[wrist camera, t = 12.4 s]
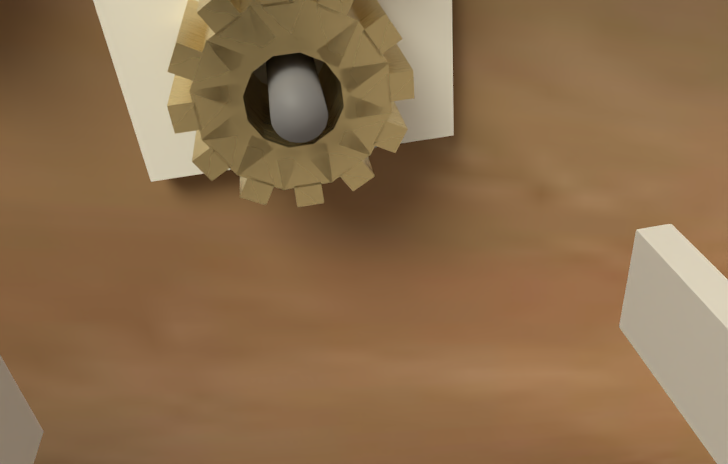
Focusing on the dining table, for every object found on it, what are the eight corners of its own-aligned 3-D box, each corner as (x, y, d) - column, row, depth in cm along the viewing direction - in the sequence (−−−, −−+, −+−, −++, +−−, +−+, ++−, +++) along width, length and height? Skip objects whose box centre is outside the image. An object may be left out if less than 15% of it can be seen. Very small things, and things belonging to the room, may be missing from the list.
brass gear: (391, 127, 32) (419, 188, 27) (206, 155, 31) (199, 222, 26) (377, -73, 27) (407, -44, 22) (155, -45, 26) (135, -8, 21)
